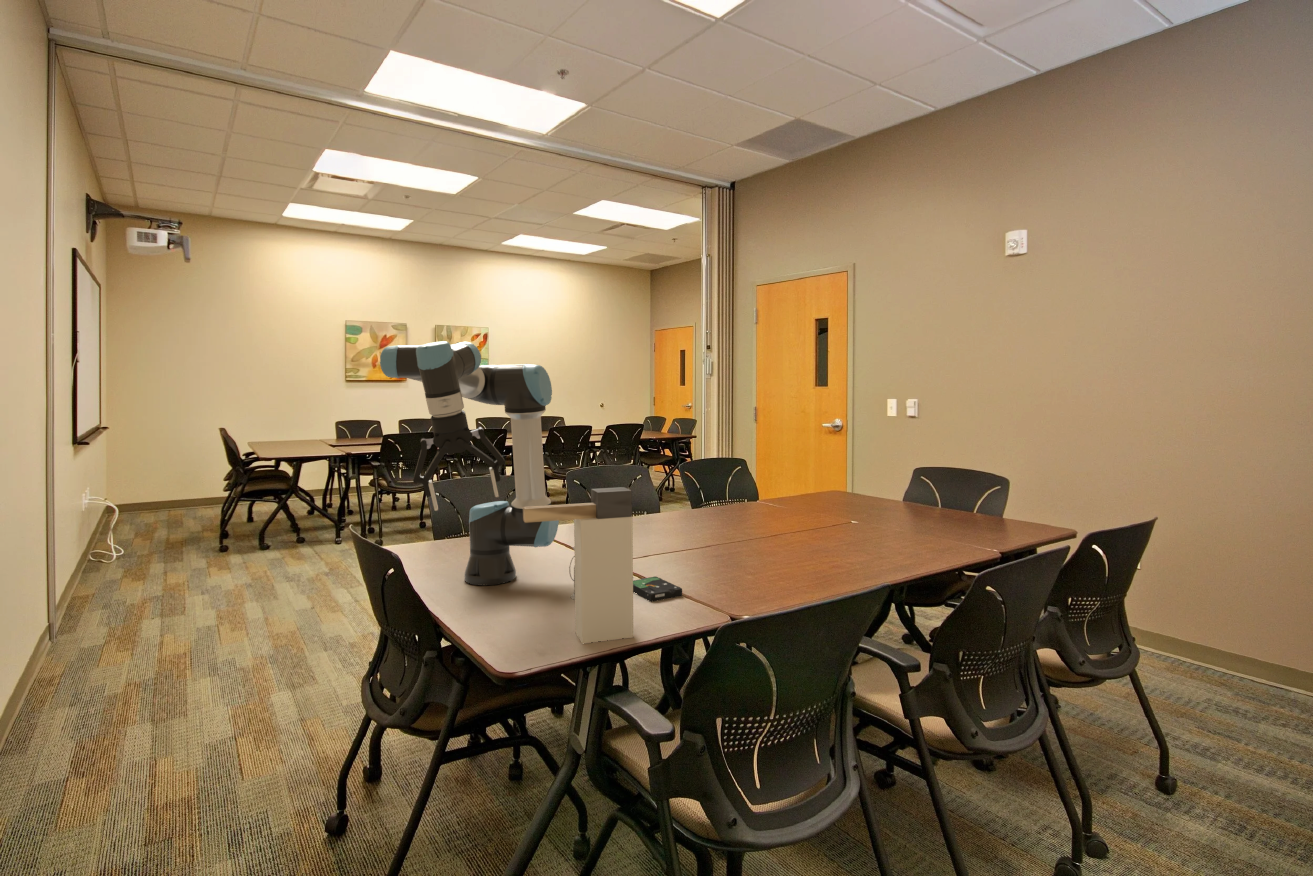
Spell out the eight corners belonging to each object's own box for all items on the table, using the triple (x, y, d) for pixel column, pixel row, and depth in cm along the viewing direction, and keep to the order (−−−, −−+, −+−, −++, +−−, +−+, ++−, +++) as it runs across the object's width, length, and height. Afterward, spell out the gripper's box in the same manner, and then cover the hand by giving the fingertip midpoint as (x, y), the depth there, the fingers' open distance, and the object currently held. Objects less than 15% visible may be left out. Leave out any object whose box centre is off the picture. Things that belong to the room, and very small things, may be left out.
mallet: (522, 519, 153) (521, 492, 153) (624, 512, 161) (624, 487, 161) (526, 523, 148) (525, 496, 147) (631, 516, 156) (631, 490, 155)
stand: (575, 633, 160) (573, 515, 158) (624, 627, 164) (623, 512, 162) (582, 643, 153) (580, 520, 151) (633, 637, 157) (632, 517, 155)
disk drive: (683, 598, 189) (655, 584, 202) (683, 588, 189) (656, 575, 201) (650, 604, 184) (625, 590, 196) (650, 594, 183) (625, 580, 196)
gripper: (387, 427, 144) (409, 520, 150) (505, 405, 150) (523, 494, 156) (389, 420, 151) (410, 508, 157) (502, 399, 157) (518, 485, 163)
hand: (466, 502), depth 156 cm, fingers open, 13 cm apart
